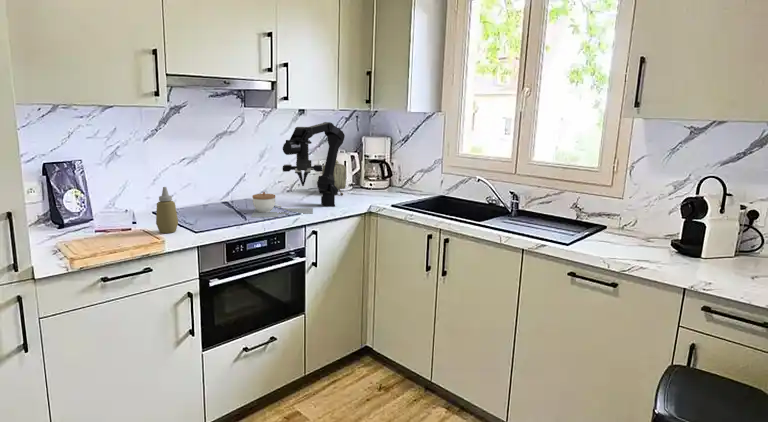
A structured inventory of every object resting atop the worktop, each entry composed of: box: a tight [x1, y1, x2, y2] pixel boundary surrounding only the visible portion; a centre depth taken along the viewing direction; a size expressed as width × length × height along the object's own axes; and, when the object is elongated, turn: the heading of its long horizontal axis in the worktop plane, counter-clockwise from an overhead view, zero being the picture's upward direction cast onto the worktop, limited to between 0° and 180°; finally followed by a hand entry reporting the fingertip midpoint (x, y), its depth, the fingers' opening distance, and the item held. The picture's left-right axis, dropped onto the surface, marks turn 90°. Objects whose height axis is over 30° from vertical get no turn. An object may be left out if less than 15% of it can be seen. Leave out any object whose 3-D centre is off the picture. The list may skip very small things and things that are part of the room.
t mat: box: [250, 205, 314, 218], centre depth 240 cm, size 28×26×1 cm
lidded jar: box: [252, 191, 276, 212], centre depth 238 cm, size 11×11×9 cm
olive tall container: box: [321, 159, 347, 196], centre depth 288 cm, size 14×9×25 cm, turn 30°
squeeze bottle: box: [155, 186, 179, 234], centre depth 195 cm, size 8×8×18 cm
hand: (303, 185), depth 239 cm, fingers closed
